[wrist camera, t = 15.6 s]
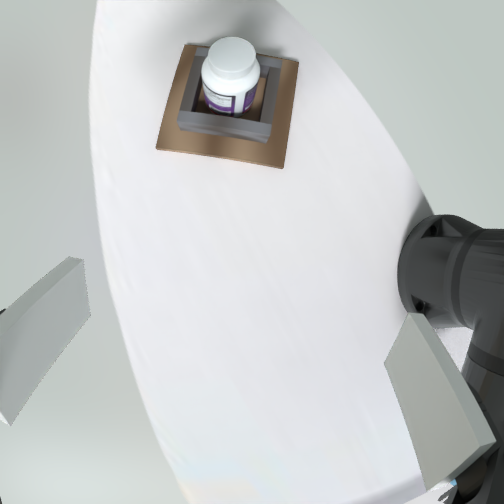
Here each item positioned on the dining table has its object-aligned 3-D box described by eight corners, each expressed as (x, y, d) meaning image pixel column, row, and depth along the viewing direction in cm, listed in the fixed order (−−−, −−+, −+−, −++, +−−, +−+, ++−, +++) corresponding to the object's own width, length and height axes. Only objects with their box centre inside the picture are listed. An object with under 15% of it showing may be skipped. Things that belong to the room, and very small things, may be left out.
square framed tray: (297, 65, 32) (304, 49, 28) (282, 169, 33) (289, 161, 29) (185, 47, 30) (182, 31, 26) (157, 149, 31) (149, 140, 27)
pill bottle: (241, 73, 30) (249, 24, 21) (260, 110, 31) (275, 68, 21) (197, 88, 30) (190, 41, 20) (215, 127, 31) (213, 88, 21)
